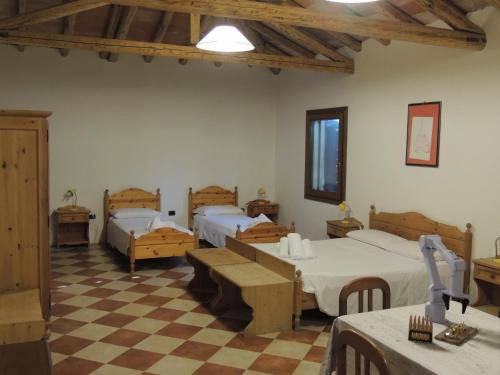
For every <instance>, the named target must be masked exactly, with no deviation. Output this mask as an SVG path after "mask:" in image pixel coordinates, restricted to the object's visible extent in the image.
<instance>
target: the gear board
mask: <svg viewBox="0 0 500 375" xmlns="http://www.w3.org/2000/svg"><path fill="white" fill-rule="evenodd" d="M454 324H456V325H458V324H459V323H456V322H455V323H454ZM449 330H450V326H448V327H447V328H446V329H443V330H442V331H440V332H439V333H437V334H436V335H434V339H433V340H437V341H440V342H444V343H447V344H451V345H455V346H460V345H461V344H462V343H464V342H466V341H467V340H468V339H470V338H471V337H472V336H474V335H475V334H477V333H478V332H479V329H478V328H475V327H472V326H469V330H467V331H464V333H462V335H460V334H458V337H457V338H456V339H450V338H449V339H448V338H447V337H445V336H444V333H445V332H446V331H448V332H449Z"/></svg>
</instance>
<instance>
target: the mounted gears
mask: <svg viewBox="0 0 500 375" xmlns="http://www.w3.org/2000/svg"><path fill="white" fill-rule="evenodd" d="M457 324H458V325H461V326H462V327H464V331H467V330H469V327H470V325H467V324H465V322H464V321H461V323H457ZM456 327H458V326H457V325H456ZM444 336H445V337H447V338H448V339H449V338H450V339H456V338H457V337H458V334H456V333H455V331H453V332H452V329H450V330H449V332H448V331H446V332H445V333H444Z"/></svg>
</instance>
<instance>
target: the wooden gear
mask: <svg viewBox="0 0 500 375" xmlns="http://www.w3.org/2000/svg"><path fill="white" fill-rule="evenodd" d="M456 324H457V323H456ZM456 324H455V323H452V324H451V325H450V326H449V327H450V329H452V332H453V331H455V333H456V334H460V335H462V333H464V327H462V326H461V325H457V326H458V327H456Z"/></svg>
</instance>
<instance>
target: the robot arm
mask: <svg viewBox="0 0 500 375" xmlns="http://www.w3.org/2000/svg"><path fill="white" fill-rule="evenodd" d="M418 246H419V249H420V252H421V254H422V257H423V260H424V264H425V269H426V271H427V276H428V279H429V280H428V281H429V286H428V287H427V288H426V293H427V296H426V298H427V300H428V301H427V302H425V306H424V320H425V321H426V318H427V316H428V320H429V322H430V318H431V317H432V320H433V323H438V324H441V325H442V324H445V323H446V322H447V321H448V320H449V318H446V311H449V310H450V302H451V297H454V298H458V299H461V315H465V314H466V312H467V308H468V306H469V304H470V302H471V301H473V296H472V295H469V294H466V293H464V292H463V291H464V273H465V271H467V265H468V264H467V262H466V260H465V259H464V258H460V257H458V256H457V254H455V252H454V251H453V250H451V249H448V248H447V246H445V245H444V243H443V240H442V237H441V236H440V235H439V234H429V235H425V234H422V235H420V237H419V238H418ZM436 252H439V253H440V254H441V257H442V259H443V261H445V262H446V264H447V265H448V270H449V275H450V281H449V282H450V284H449V290H448V288H447V286H446V285H444V284H443V283H442V282H441V277H440V274H439V270H438V266H437V263H436V260H435V253H436Z"/></svg>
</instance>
